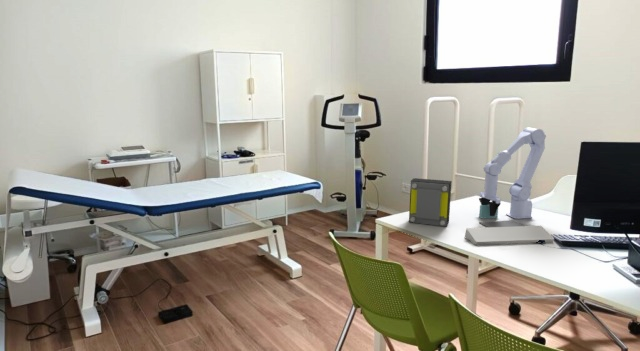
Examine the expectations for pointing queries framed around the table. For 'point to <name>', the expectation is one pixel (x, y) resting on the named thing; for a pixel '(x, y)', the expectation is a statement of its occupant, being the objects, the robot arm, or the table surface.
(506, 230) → the bevelled gray strip
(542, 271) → the table surface
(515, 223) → the mat
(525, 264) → the table surface
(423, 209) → the electrical component
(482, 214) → the card box
